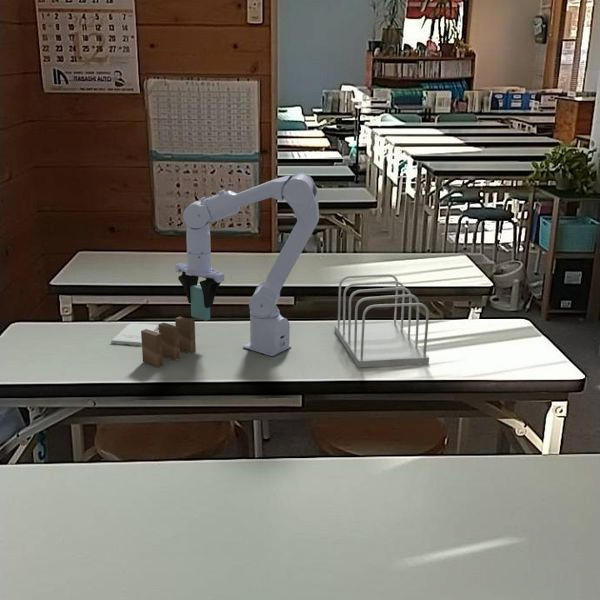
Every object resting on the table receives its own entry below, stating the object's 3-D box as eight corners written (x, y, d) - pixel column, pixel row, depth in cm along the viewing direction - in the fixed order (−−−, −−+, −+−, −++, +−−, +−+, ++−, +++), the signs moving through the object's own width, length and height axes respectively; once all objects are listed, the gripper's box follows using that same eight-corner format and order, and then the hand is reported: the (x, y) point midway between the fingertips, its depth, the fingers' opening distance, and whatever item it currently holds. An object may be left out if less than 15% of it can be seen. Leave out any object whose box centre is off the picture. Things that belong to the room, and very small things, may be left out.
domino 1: (148, 360, 175) (146, 328, 172) (162, 365, 172) (161, 333, 170) (142, 362, 174) (141, 330, 171) (157, 367, 171) (155, 335, 168)
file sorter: (429, 365, 175) (433, 303, 170) (358, 369, 172) (361, 306, 167) (396, 328, 198) (400, 272, 193) (333, 331, 195) (335, 275, 190)
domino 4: (195, 314, 185) (194, 284, 183) (210, 318, 182) (209, 288, 180) (191, 316, 184) (190, 285, 182) (205, 320, 181) (205, 289, 179)
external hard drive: (159, 330, 195) (142, 348, 184) (129, 328, 196) (111, 345, 185) (158, 324, 195) (141, 342, 183) (129, 322, 196) (110, 339, 184)
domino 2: (165, 353, 179) (163, 322, 177) (179, 358, 176) (178, 327, 174) (160, 355, 178) (158, 324, 175) (174, 360, 175) (173, 329, 173)
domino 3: (181, 346, 183) (179, 316, 181) (195, 351, 181) (194, 320, 178) (176, 348, 182) (175, 318, 180) (191, 353, 179) (190, 322, 177)
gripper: (165, 249, 179) (168, 302, 183) (209, 259, 171) (210, 315, 175) (186, 244, 184) (188, 295, 189) (229, 253, 176) (230, 307, 181)
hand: (200, 304), depth 182 cm, fingers closed on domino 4, 5 cm apart
